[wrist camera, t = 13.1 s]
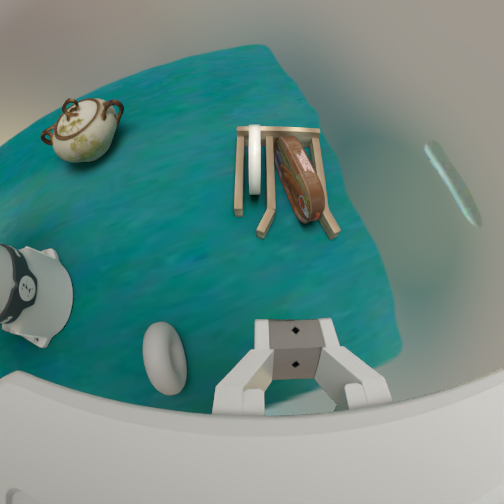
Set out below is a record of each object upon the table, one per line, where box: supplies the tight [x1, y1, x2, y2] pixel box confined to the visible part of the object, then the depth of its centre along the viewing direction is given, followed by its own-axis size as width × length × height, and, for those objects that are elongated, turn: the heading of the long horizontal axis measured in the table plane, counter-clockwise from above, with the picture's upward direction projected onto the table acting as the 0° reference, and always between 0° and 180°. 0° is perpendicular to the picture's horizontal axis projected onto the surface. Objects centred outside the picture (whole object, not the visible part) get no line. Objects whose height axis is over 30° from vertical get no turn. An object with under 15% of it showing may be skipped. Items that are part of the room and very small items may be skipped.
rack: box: [234, 126, 341, 240], centre depth 44 cm, size 16×19×4 cm
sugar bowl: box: [41, 98, 124, 163], centre depth 43 cm, size 20×15×15 cm
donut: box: [143, 322, 187, 395], centre depth 33 cm, size 10×3×10 cm, turn 11°
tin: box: [273, 136, 325, 224], centre depth 42 cm, size 15×3×8 cm, turn 17°
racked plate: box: [249, 125, 261, 195], centre depth 41 cm, size 2×11×11 cm, turn 0°
